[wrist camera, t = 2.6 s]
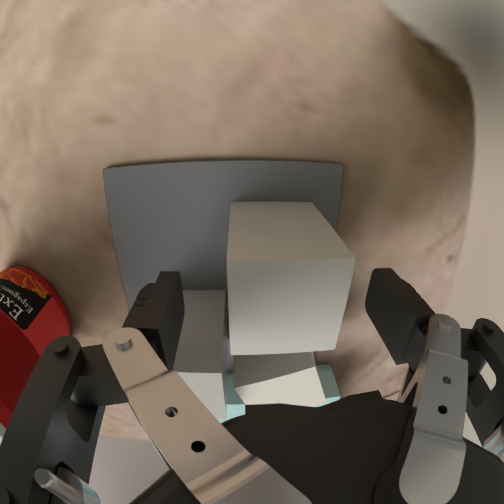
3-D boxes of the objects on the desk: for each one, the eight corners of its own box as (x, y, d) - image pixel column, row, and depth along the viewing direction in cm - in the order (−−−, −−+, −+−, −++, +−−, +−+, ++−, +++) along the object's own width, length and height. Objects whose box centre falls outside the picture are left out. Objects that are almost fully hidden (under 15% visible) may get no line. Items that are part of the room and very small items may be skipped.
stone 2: (230, 201, 14) (226, 260, 8) (311, 202, 14) (355, 258, 9) (232, 273, 16) (230, 354, 10) (304, 272, 16) (334, 349, 10)
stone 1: (153, 290, 16) (123, 367, 10) (225, 290, 16) (221, 373, 11) (163, 338, 18) (145, 413, 12) (227, 339, 18) (226, 418, 12)
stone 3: (233, 322, 17) (233, 388, 13) (297, 303, 17) (315, 366, 12) (253, 359, 19) (257, 420, 14) (309, 342, 18) (326, 402, 14)
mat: (106, 167, 13) (102, 169, 13) (340, 163, 14) (343, 164, 13) (148, 362, 19) (147, 366, 19) (310, 362, 20) (311, 366, 19)
